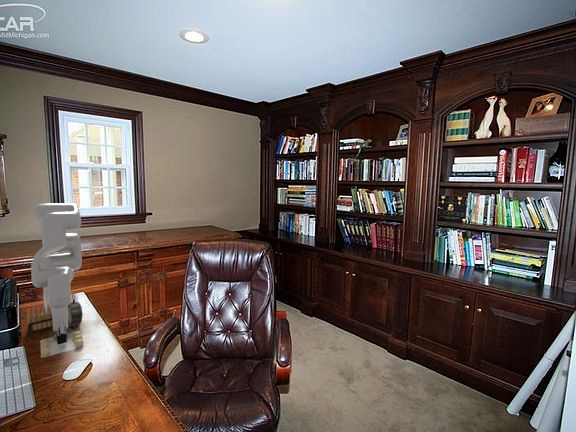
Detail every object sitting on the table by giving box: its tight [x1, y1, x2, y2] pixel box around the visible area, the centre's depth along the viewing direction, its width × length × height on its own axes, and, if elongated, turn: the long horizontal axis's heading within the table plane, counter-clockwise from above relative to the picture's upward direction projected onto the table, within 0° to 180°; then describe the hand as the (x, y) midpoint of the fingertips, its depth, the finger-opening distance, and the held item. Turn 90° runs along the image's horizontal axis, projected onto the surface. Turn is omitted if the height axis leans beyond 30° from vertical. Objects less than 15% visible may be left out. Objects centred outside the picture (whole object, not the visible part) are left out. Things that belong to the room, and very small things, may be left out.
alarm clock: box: [68, 293, 84, 331], centre depth 143 cm, size 11×5×16 cm, turn 48°
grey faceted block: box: [53, 330, 69, 340], centre depth 132 cm, size 4×5×2 cm
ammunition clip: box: [26, 304, 53, 335], centre depth 139 cm, size 11×2×12 cm, turn 135°
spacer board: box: [40, 330, 85, 359], centre depth 128 cm, size 17×14×3 cm
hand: (62, 342), depth 126 cm, fingers closed
